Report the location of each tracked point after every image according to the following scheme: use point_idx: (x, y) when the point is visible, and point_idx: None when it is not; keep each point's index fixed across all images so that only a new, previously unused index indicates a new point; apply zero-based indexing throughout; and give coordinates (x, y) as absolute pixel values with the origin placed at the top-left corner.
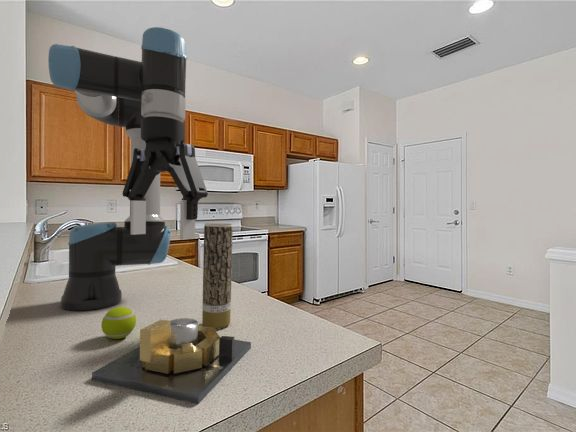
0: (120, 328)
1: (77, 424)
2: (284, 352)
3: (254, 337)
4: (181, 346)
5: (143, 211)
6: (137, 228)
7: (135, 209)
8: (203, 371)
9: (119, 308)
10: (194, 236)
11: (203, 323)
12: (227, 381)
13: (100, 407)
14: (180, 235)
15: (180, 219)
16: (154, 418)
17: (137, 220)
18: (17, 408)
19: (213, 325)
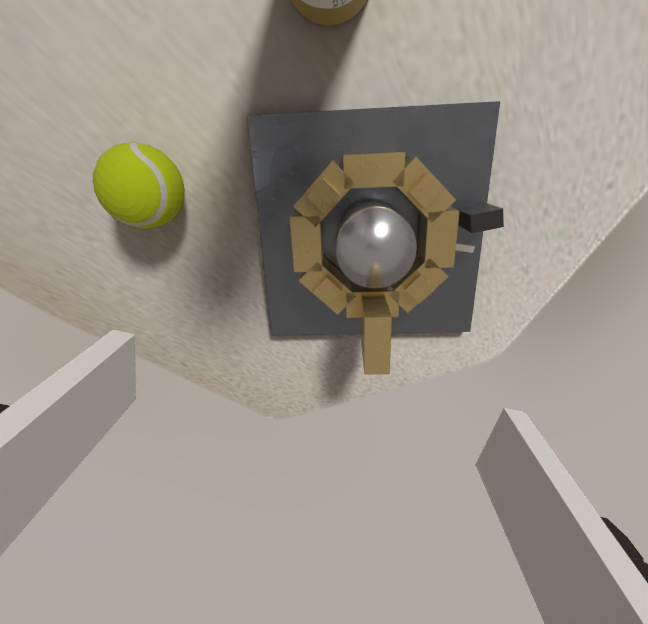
0: (176, 213)
1: (345, 398)
2: (587, 92)
3: (485, 24)
4: (410, 294)
5: (29, 440)
6: (118, 398)
7: (26, 507)
8: (445, 271)
9: (126, 197)
10: (527, 421)
11: (303, 15)
12: (487, 260)
13: (343, 370)
14: (485, 480)
15: (517, 556)
16: (424, 365)
17: (85, 431)
18: (252, 399)
19: (344, 20)
